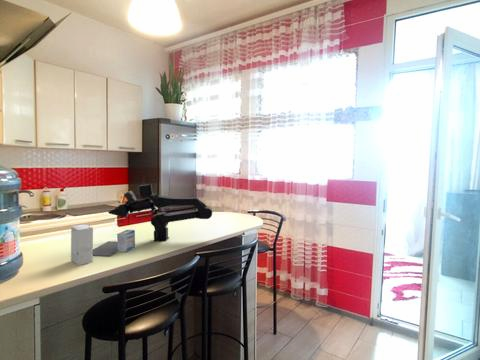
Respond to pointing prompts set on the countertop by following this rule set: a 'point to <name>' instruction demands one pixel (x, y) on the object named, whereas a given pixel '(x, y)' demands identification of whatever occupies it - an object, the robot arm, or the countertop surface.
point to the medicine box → (126, 240)
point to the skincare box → (81, 244)
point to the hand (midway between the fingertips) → (111, 210)
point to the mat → (106, 249)
